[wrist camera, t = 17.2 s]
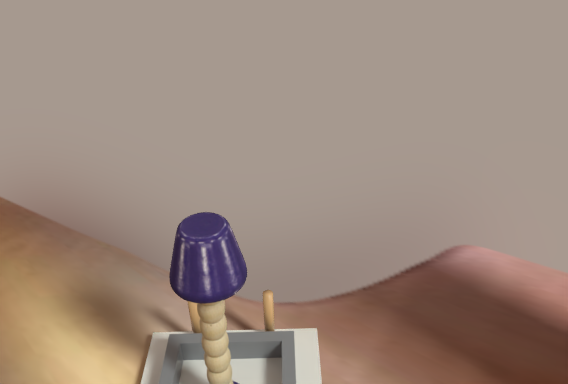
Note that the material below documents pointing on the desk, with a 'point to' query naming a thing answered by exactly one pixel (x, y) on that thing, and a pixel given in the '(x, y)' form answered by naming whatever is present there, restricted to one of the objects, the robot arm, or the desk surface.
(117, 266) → the desk surface
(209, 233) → the toy lamp
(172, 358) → the peg board frame
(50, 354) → the desk surface
